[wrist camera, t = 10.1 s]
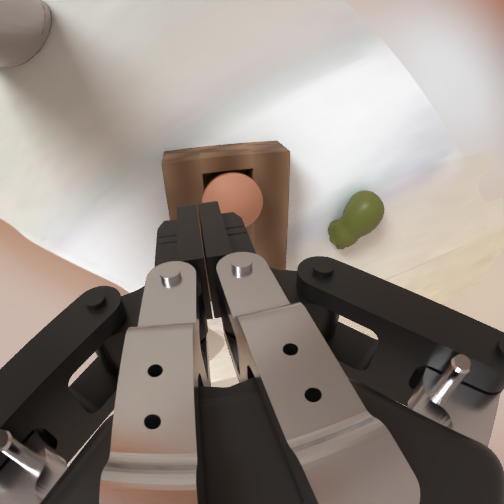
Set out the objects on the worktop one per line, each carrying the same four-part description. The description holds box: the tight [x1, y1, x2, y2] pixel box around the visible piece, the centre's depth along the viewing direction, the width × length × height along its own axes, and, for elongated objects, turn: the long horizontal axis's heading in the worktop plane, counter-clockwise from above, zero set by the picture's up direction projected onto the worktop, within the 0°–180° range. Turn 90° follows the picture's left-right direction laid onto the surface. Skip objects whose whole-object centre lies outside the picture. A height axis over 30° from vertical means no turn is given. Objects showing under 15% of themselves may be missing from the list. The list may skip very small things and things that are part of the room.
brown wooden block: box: [162, 141, 290, 301], centre depth 40 cm, size 14×20×5 cm
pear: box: [328, 191, 384, 249], centre depth 44 cm, size 6×5×10 cm
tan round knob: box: [202, 170, 263, 227], centre depth 35 cm, size 6×6×6 cm
